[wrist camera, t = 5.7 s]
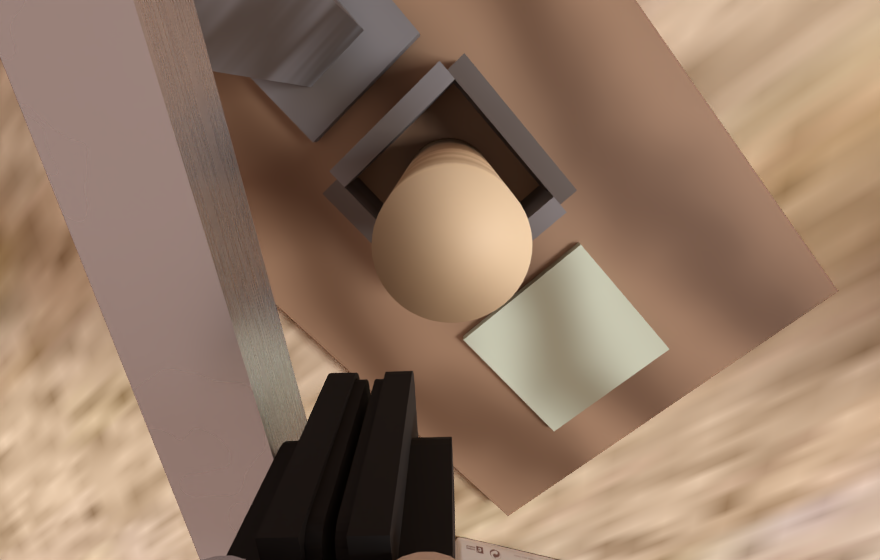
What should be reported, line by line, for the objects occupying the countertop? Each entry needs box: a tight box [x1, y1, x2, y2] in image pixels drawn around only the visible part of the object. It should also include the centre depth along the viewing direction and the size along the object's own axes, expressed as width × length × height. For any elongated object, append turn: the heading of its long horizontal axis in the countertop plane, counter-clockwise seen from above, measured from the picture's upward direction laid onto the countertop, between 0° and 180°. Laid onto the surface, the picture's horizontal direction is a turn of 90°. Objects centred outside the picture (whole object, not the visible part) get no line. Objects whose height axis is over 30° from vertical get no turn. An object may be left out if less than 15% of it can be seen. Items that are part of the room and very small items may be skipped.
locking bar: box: [0, 0, 307, 560], centre depth 8 cm, size 16×3×3 cm, turn 8°
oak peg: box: [371, 138, 532, 323], centre depth 16 cm, size 4×4×11 cm
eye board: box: [193, 0, 838, 516], centre depth 17 cm, size 20×28×14 cm
